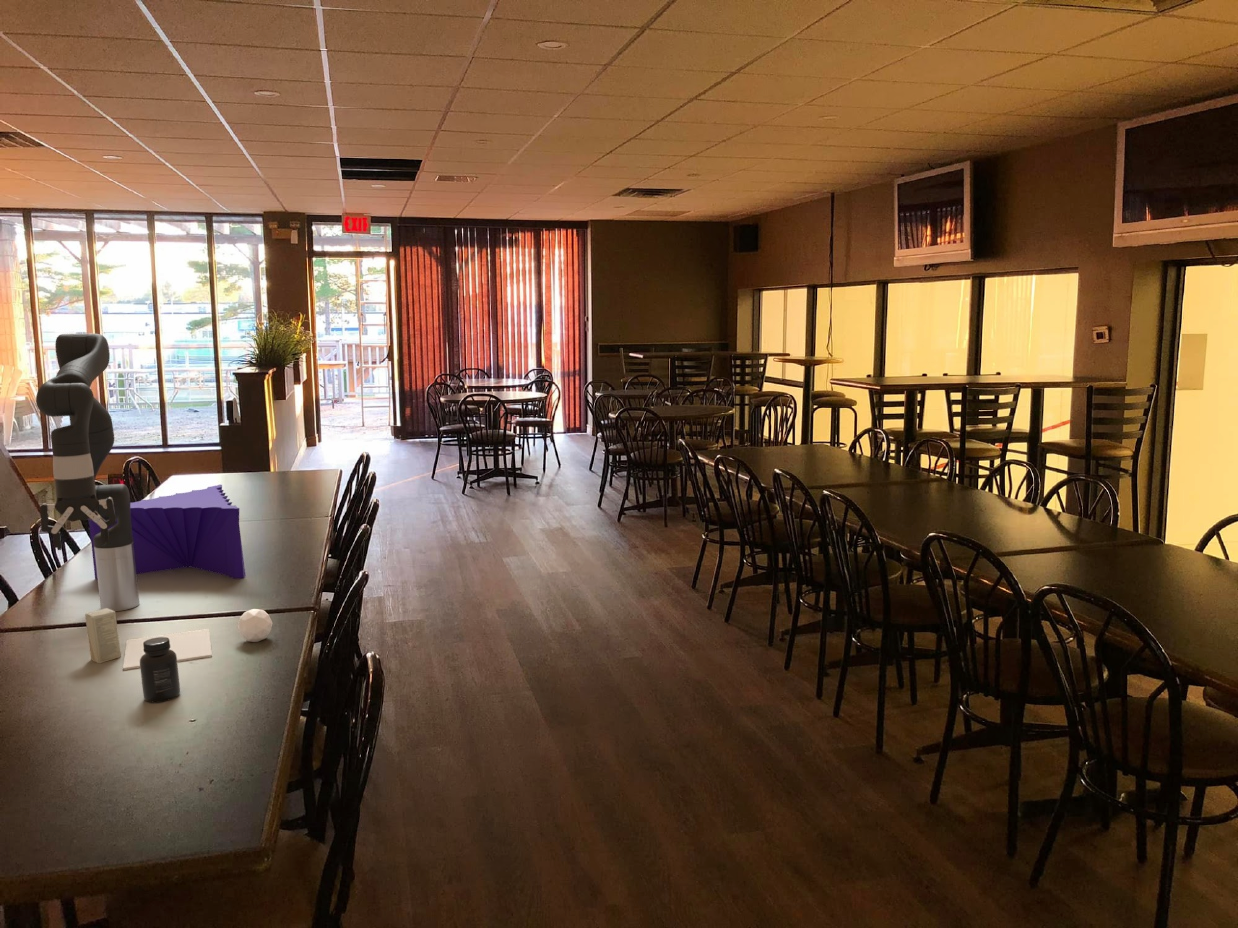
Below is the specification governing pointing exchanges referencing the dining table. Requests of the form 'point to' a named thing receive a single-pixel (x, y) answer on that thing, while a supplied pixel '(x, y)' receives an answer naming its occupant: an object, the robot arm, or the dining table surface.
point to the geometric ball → (254, 625)
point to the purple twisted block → (185, 533)
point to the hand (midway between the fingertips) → (82, 546)
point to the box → (103, 635)
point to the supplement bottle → (159, 671)
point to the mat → (172, 647)
